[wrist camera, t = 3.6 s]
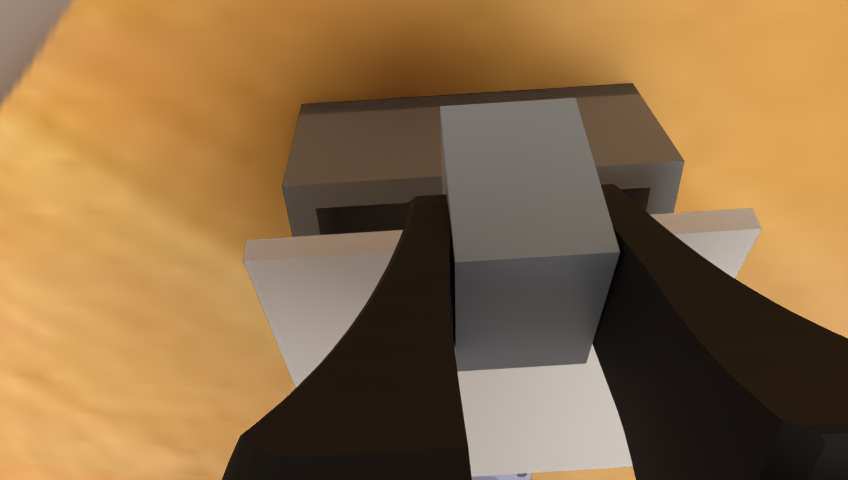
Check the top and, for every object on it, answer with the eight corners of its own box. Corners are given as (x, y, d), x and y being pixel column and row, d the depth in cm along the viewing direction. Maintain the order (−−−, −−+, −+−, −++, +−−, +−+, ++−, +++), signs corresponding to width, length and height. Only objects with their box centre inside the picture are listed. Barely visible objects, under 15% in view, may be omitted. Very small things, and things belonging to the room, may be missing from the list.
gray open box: (591, 369, 31) (620, 464, 27) (350, 384, 31) (344, 481, 27) (632, 83, 22) (684, 161, 18) (301, 104, 22) (282, 186, 18)
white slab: (623, 431, 27) (651, 549, 24) (337, 449, 27) (333, 569, 24) (799, 56, 13) (914, 234, 10) (206, 93, 13) (161, 280, 10)
